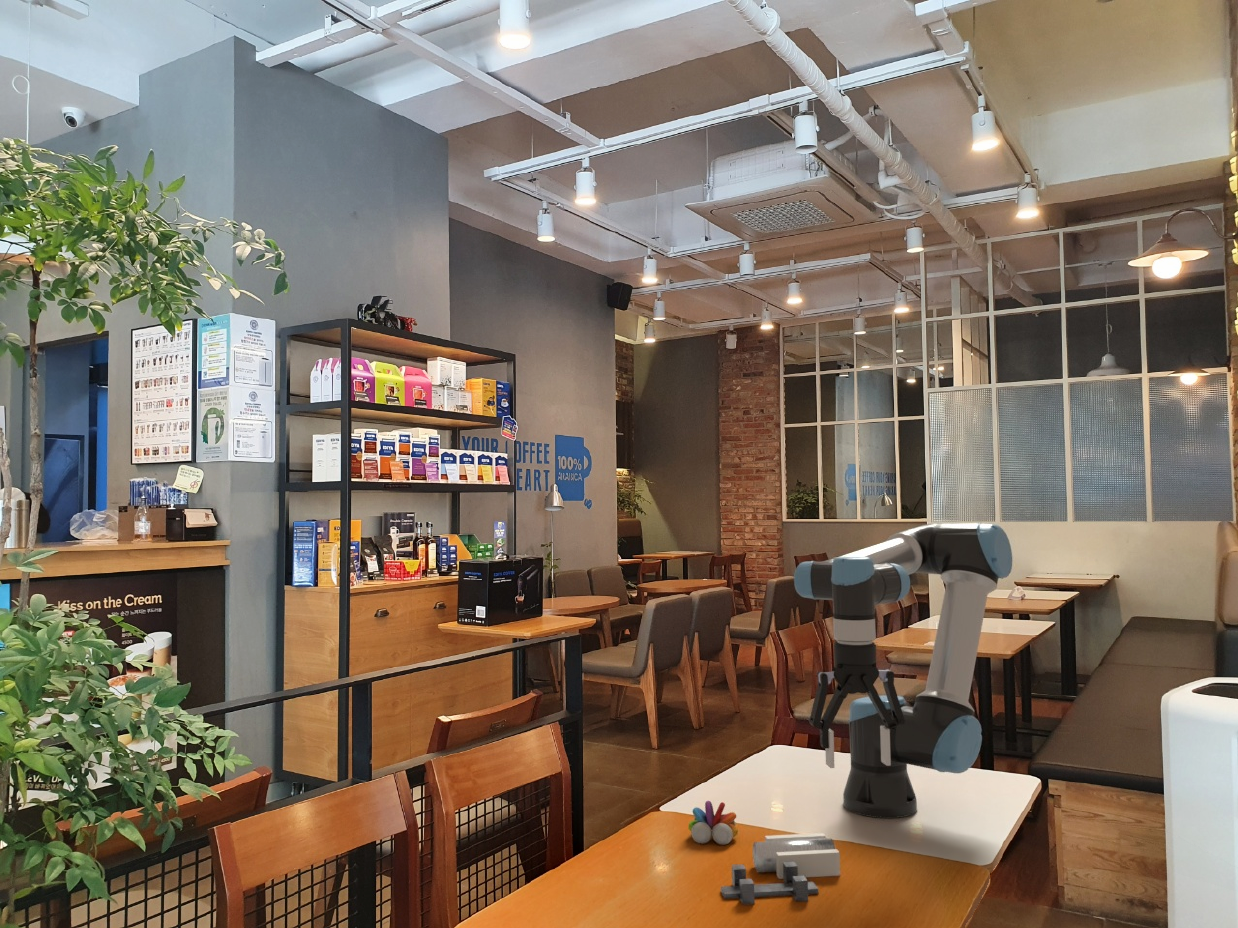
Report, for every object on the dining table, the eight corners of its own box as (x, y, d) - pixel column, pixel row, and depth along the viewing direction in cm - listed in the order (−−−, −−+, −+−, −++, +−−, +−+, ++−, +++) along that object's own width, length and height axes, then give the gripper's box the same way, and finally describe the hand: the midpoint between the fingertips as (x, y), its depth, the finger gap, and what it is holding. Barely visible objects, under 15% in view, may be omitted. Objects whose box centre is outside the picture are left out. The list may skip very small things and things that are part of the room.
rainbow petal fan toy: (736, 848, 174) (735, 809, 175) (686, 845, 176) (685, 807, 177) (739, 832, 183) (738, 795, 183) (691, 829, 185) (690, 793, 185)
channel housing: (823, 854, 170) (822, 832, 170) (840, 875, 161) (839, 852, 161) (765, 857, 169) (764, 835, 169) (778, 878, 160) (778, 855, 160)
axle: (827, 856, 168) (828, 832, 167) (836, 874, 163) (837, 849, 162) (752, 860, 167) (753, 836, 166) (758, 878, 162) (759, 853, 161)
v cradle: (808, 880, 159) (808, 860, 159) (823, 899, 151) (822, 879, 151) (718, 885, 158) (717, 865, 158) (727, 905, 150) (727, 884, 150)
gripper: (905, 636, 172) (909, 756, 171) (789, 640, 170) (792, 761, 169) (922, 642, 165) (926, 767, 164) (800, 646, 163) (803, 773, 162)
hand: (858, 764), depth 167 cm, fingers open, 10 cm apart
